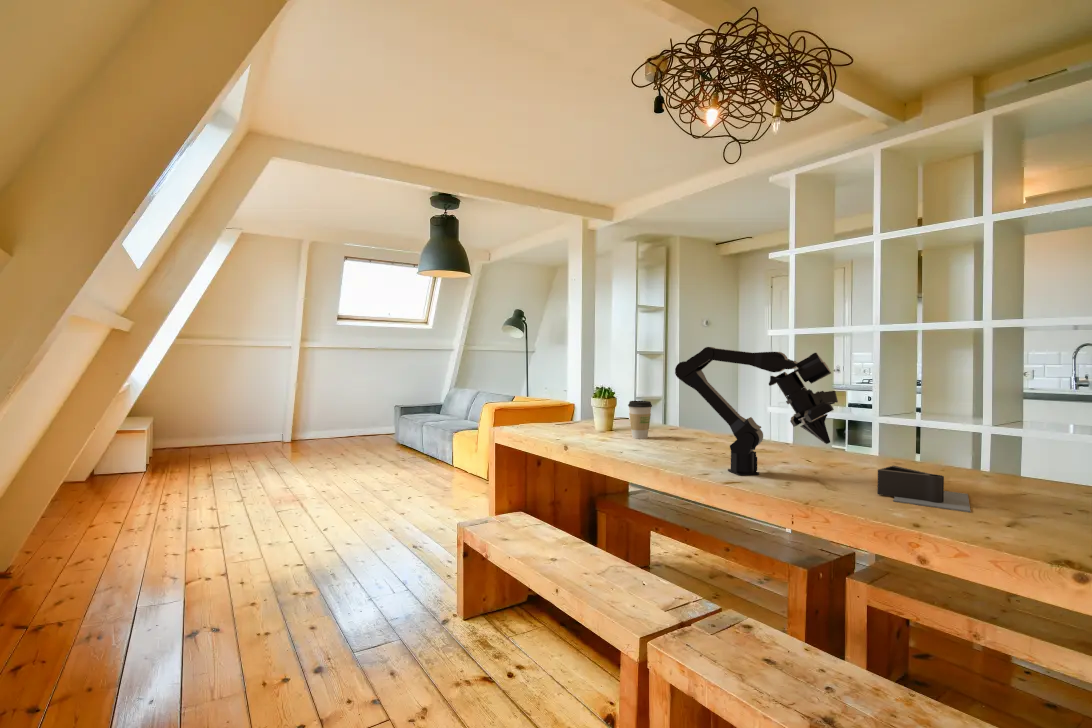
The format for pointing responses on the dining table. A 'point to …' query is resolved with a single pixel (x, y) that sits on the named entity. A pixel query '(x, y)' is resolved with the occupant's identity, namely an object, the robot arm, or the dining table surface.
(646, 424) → the coffee cup
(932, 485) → the dark tent sign
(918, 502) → the mat
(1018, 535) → the dining table surface
